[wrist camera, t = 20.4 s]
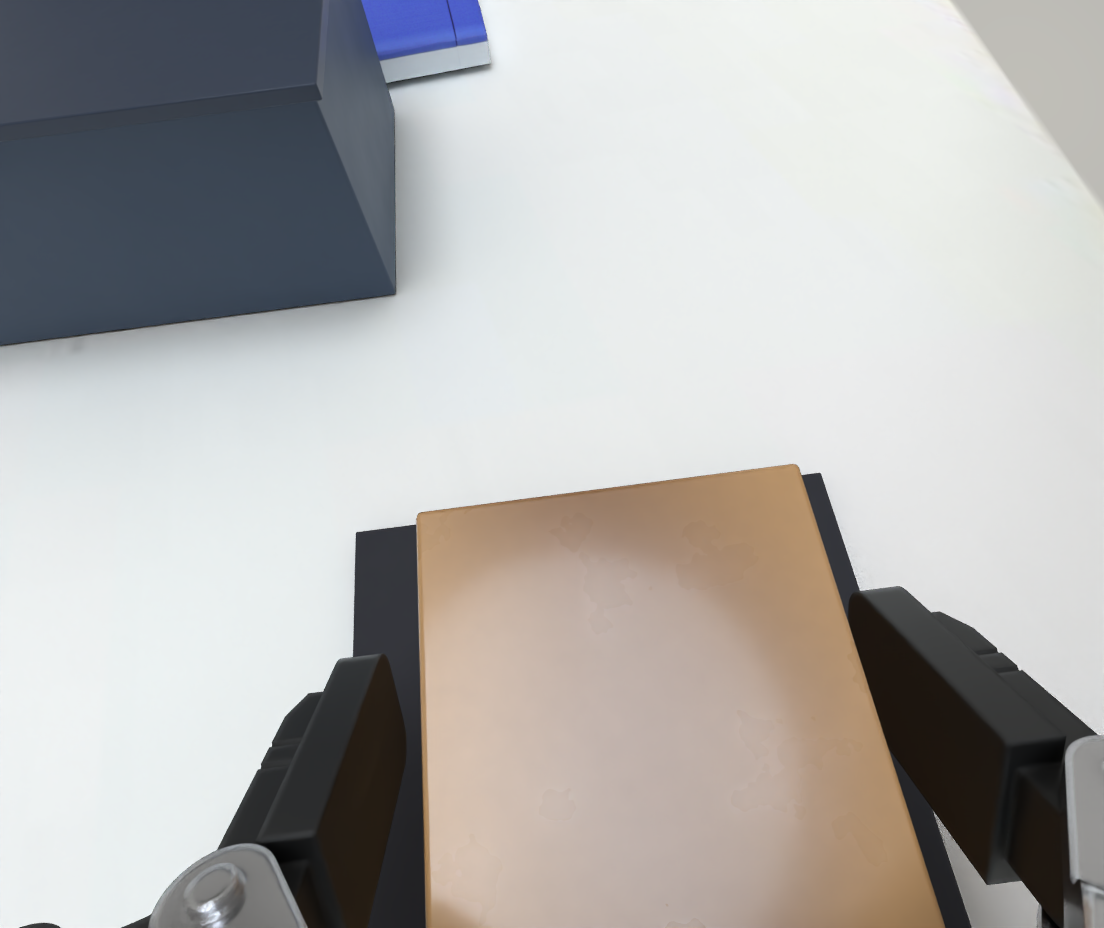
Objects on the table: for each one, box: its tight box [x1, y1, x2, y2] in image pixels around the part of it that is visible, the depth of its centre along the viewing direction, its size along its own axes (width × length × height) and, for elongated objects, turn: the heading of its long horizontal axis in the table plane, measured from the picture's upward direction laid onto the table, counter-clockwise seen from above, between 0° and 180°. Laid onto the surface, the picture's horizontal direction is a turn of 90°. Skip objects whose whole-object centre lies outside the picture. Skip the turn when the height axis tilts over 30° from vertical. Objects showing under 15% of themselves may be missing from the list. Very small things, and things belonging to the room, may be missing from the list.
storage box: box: [0, 0, 396, 345], centre depth 19 cm, size 14×9×7 cm, turn 97°
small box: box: [416, 464, 945, 928], centre depth 11 cm, size 5×7×7 cm
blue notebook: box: [361, 0, 491, 83], centre depth 26 cm, size 2×8×12 cm
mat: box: [353, 473, 971, 928], centre depth 14 cm, size 12×12×1 cm
